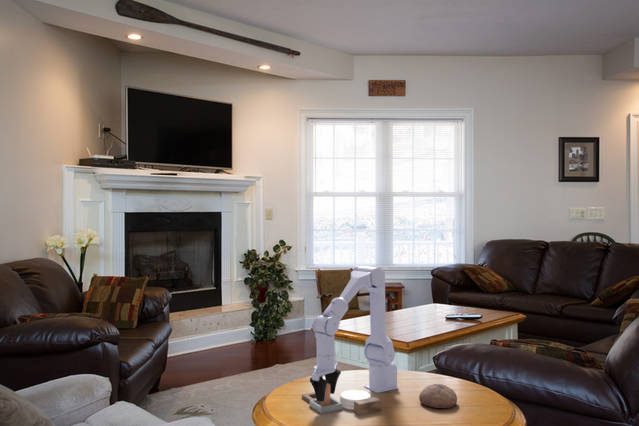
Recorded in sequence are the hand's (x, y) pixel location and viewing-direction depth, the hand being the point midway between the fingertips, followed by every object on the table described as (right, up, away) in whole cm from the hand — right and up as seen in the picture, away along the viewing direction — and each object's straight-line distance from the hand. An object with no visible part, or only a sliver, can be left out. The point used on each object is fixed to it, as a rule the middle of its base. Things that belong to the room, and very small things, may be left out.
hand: (325, 397), depth 170 cm
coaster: (+10, -4, +3) cm, 11 cm away
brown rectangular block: (+13, -4, -3) cm, 14 cm away
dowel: (0, -3, 0) cm, 3 cm away
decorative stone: (+38, -5, +1) cm, 39 cm away
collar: (-3, -4, +8) cm, 9 cm away
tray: (0, -4, 0) cm, 4 cm away
